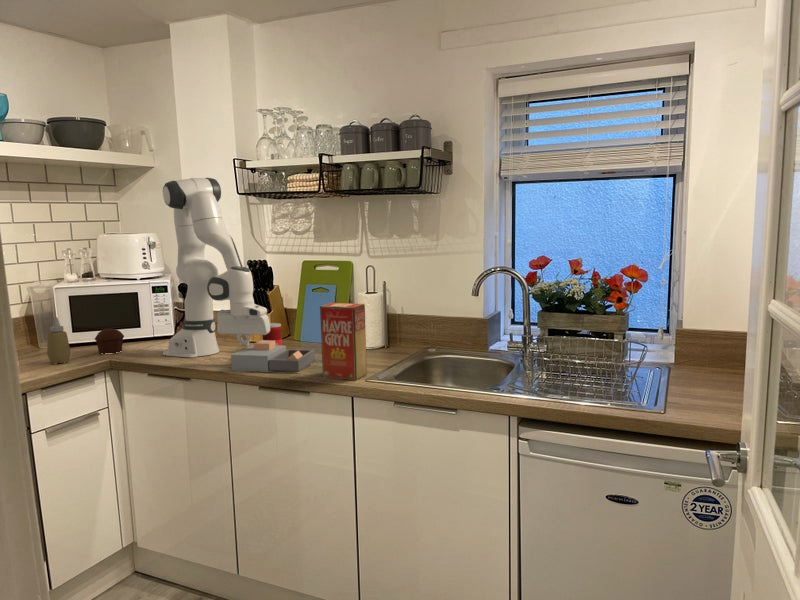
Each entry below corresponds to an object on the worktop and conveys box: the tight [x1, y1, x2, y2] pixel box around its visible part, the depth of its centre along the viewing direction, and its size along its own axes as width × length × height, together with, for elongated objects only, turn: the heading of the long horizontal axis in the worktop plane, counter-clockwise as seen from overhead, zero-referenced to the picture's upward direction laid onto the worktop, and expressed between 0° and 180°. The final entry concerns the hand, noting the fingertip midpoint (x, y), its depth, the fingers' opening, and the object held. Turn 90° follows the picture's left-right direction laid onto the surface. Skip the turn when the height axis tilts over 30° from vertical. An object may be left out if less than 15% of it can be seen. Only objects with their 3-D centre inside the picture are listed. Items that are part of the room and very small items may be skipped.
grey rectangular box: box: [230, 344, 287, 373], centre depth 230 cm, size 14×18×6 cm
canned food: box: [262, 322, 283, 345], centre depth 257 cm, size 8×8×11 cm
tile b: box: [253, 339, 276, 350], centre depth 232 cm, size 6×6×2 cm
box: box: [269, 348, 316, 373], centre depth 227 cm, size 11×18×4 cm, turn 169°
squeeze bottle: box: [46, 316, 72, 365], centre depth 240 cm, size 8×8×18 cm
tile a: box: [287, 349, 303, 360], centre depth 222 cm, size 6×6×2 cm
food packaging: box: [319, 302, 368, 381], centre depth 211 cm, size 13×9×25 cm
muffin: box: [94, 327, 125, 354], centre depth 259 cm, size 12×11×10 cm
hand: (244, 345), depth 233 cm, fingers closed
